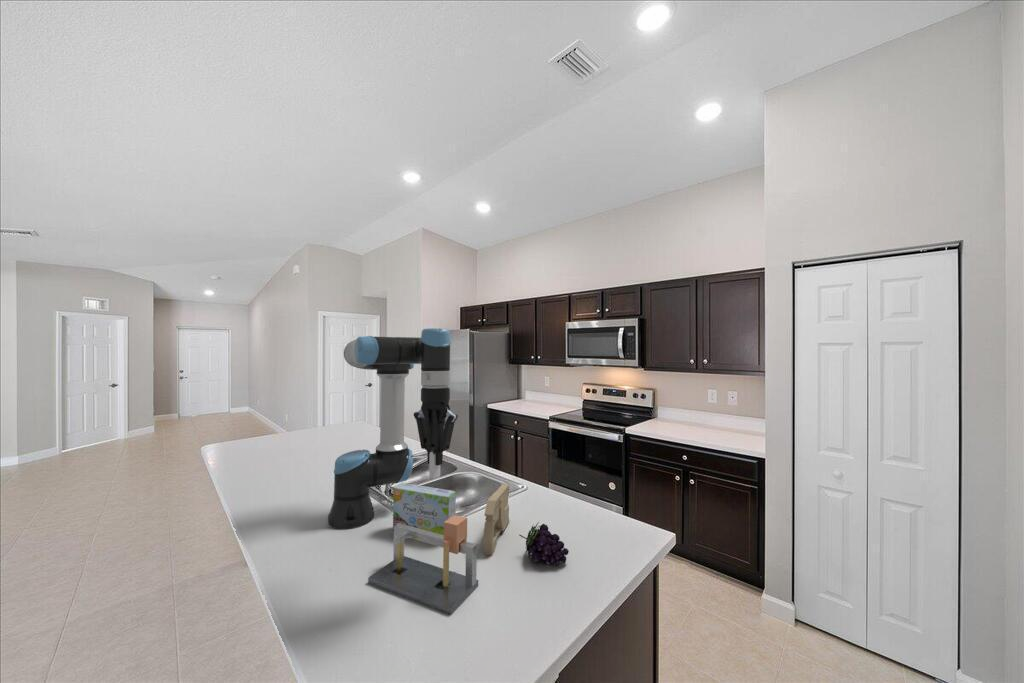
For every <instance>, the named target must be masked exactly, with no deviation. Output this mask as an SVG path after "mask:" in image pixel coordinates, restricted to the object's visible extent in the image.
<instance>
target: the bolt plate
mask: <svg viewBox="0 0 1024 683" xmlns="http://www.w3.org/2000/svg"><path fill="white" fill-rule="evenodd" d="M367 578H368V579H367V583H368V584H369V585H371V586H374V587H377V588H380V589H382V590H384V591H387V592H389V593H392V594H395V595H397V596H400V597H403V598H404V599H405V598H406V599H408V600H410V601H413V602H415V603H418V604H421V605H424V606H426V607H429V608H431V609H433V610H437V611H439V612H442V613H443V614H447V615H449V616H452V615H453V613H455V611H457V610H458V608H459V607H460V606H461V605H462V604H463V603H464V602H465V601H466V600H467V599H468V597H470V596H471V594H473V592H474V591H475V590H476V589H477V588H478V587H479V579H477V578H476V583H475V584H474V585H473V586H469V585H466V584H465V579H466V575H464V574H460V573H458V572H455V571H451V570H449V585H448V586H447V587H445V586H443V567H439V566H436V565H433V564H429V563H426V562H425V561H421V560H417V559H415V558H412V557H407V556H405V555H404V559H402V574H400V575H398V574H397V561H394V560H392V561H390V562H388V563H387V564H386V565H384V566H383V567H381V568H379V570H376V572H374V573H372V574H371V575H369V576H368V577H367ZM440 587H441V588H444V589H440Z"/></svg>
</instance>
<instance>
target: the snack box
mask: <svg viewBox="0 0 1024 683" xmlns="http://www.w3.org/2000/svg"><path fill="white" fill-rule="evenodd" d="M392 490H393V491H392V494H393V495H392V532H393V533H394V526H395V525H397V524H398V523H400V524H404V525H408V526H411V527H415V528H419V529H422V530H426V531H430V532H433V533H437V534H440V535H444V522H445V521H446V520H448V519H449V518H451V517H452V516H454V515H456V514H457V513H456V512H457V511H456V510H457V509H456V508H457V507H456V506H457V503H456V502H457V494H456V492H457V491H455V490H449V489H443V488H439V487H438V488H436V487H431V486H425V485H419V484H412V483H407V482H400V483H399V484H397V485H395V486H393V488H392Z"/></svg>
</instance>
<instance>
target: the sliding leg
mask: <svg viewBox="0 0 1024 683" xmlns="http://www.w3.org/2000/svg"><path fill="white" fill-rule="evenodd" d="M467 538H468V517H467V516H466V517H465V516H462V515H454V516H452V517H451V518H449V519H448V520H446V521H445V522H444V541H443V546H444V547H442V549H443V552H442V554H443V557H442V558H443V561H442V564H443V566H442V568H443V586H445V587H447V586H448V585H449V571H450V553H451V554H454V555H459V553H460V552H459V543H460V542H462V541H466V542H468V540H467Z"/></svg>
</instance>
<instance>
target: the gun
mask: <svg viewBox="0 0 1024 683" xmlns="http://www.w3.org/2000/svg"><path fill="white" fill-rule="evenodd" d="M509 497H510V483H501V485H500V486H499V487H498V488H497V489H496V491H494V492H493V493H492V494H491V495H490V497H489V498H487V502H486V506H485V510H484V517H485V519H484V520H485V521H484V529H483V530H484V531H483V539H482V545H483V546H482V547H483V555H484V556H485V555H486V556H493V555H494V552H495V549H496V547H497V542H498V541H497V539H498V537H499V535H500V534H501V533H503V532H504V531H505V529H506V527H507V526H508V524H509V522H510V516H509V514H510V512H509V511H510V505H509Z"/></svg>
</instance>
